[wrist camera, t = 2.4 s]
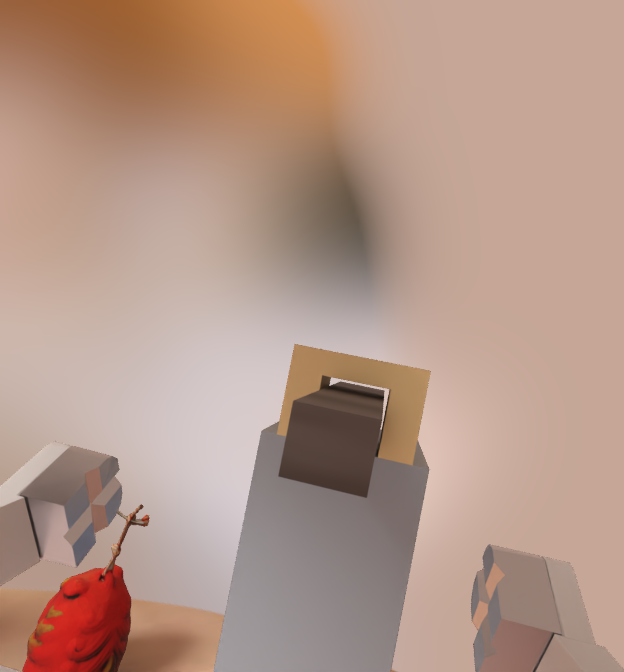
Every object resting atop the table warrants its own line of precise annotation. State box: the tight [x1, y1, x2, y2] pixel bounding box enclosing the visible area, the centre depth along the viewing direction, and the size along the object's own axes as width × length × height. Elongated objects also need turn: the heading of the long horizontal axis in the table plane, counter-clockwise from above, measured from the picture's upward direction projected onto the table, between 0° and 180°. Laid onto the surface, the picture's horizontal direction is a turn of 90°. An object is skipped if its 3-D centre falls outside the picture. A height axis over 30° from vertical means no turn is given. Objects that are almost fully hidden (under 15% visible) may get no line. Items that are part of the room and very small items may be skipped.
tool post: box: [214, 344, 431, 672], centre depth 34 cm, size 12×10×30 cm
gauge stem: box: [278, 382, 384, 498], centre depth 29 cm, size 20×4×3 cm, turn 171°
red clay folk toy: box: [23, 505, 149, 672], centre depth 39 cm, size 8×7×15 cm
